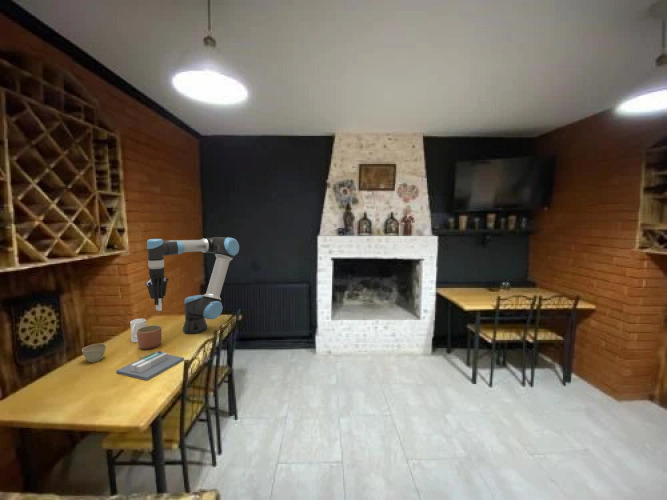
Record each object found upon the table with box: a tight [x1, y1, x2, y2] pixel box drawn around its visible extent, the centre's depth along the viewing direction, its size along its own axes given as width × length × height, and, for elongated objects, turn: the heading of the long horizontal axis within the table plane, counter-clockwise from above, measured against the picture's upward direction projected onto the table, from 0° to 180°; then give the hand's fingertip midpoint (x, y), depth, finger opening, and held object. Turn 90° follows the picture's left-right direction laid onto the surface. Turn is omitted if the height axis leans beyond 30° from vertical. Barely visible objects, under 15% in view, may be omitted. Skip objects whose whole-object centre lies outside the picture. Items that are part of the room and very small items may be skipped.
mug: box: [130, 318, 147, 343], centre depth 193 cm, size 12×8×12 cm
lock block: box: [138, 351, 155, 360], centre depth 164 cm, size 6×4×3 cm, turn 160°
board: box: [115, 350, 185, 382], centre depth 161 cm, size 24×20×5 cm
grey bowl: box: [81, 343, 107, 363], centre depth 167 cm, size 10×10×7 cm
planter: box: [137, 324, 163, 350], centre depth 184 cm, size 12×12×11 cm
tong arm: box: [131, 351, 164, 372], centre depth 160 cm, size 16×2×3 cm, turn 160°
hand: (158, 310), depth 174 cm, fingers closed
